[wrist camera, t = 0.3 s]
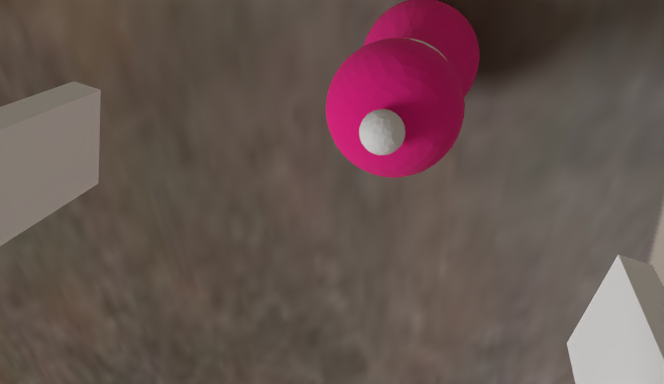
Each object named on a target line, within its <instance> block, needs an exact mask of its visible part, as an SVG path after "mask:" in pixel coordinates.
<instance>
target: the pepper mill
mask: <svg viewBox="0 0 664 384" xmlns="http://www.w3.org/2000/svg"><path fill="white" fill-rule="evenodd" d="M479 60H480V53H479V44H478V40H477V37H476V34H475V32H474V30H473V28H472V26H471V24H470V23H469V22H468V20H467V19H466V18H465V16H463V15H462V14H461V13H460V12H459V11H458V10H457V9H455V8H453V7H452V6H450V5H448V4H446V3H444V2H441V1H437V0H408V1H405V2H402V3H399V4H397V5H395V6H394V7H392V8H390V9H389V10H388V11H386V12H385V13H384V14H383V15H382V16H381V17H380V18H379V19H378V20H377V21H376V22H375V24H374V25H373V27H372V29H371V31H370V32H369V34H368V36H367V38H366V41H365V43H364V46H363V47H361V48H360V49H358V50H357V51H356V52H354V53H353V54H352V55H350V56H349V57H348V58H347V59H346V60H345V61H344V62H343V64H342V65H341V66H340V68H339V69H338V71H337V72H336V74H335V75H334V77H333V80H332V82H331V84H330V87H329V91H328V95H327V102H326V118H327V124H328V127H329V130H330V133H331V135H332V138H333V140H334V142H335V144H336V146H337V147H338V148H339V150H340V151H341V153H342V154H343V155H344V156H345V157H346V158H347V159H348V160H349V161H350V162H352V163H353V164H354V165H356V166H357V167H359V168H361V169H363V170H365V171H367V172H369V173H371V174H374V175H378V176H383V177H403V176H409V175H413V174H416V173H419V172H422V171H424V170H426V169H428V168H429V167H431V166H433V165H434V164H436V163H437V162H438V161H439V160H440V159H441V158H443V157H444V156H445V154H446V153H447V152H448V151H449V150H450V149H451V148H452V146H453V144H454V142H455V141H456V139H457V137H458V135H459V132H460V129H461V126H462V122H463V118H464V106H465V103H464V97H465V95H466V94H467V92H468V91H469V90H470V88H471V86H472V84H473V82H474V80H475V77H476V74H477V71H478V67H479Z"/></svg>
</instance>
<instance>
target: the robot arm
mask: <svg viewBox="0 0 664 384" xmlns="http://www.w3.org/2000/svg"><path fill="white" fill-rule="evenodd" d="M99 131H100V90H99V89H96V88H93V87H90V86H87V85H84V84H80V83H77V82H74V81H73V82H71V83H68V84H65V85H62V86H59V87H56V88H53V89H51V90H48V91H45V92H42V93H39V94H36V95H34V96H31V97H28V98H25V99H22V100H19V101H16V102H14V103H11V104H8V105H5V106H2V107H0V246H1V245H3V244H4V243H6V242H7V241H9V240H10V239H12V238H14V237H15V236H17V235H18V234H20V233H21V232H23V231H25V230H26V229H28V228H29V227H31V226H32V225H34V224H35V223H37V222H39V221H40V220H42V219H43V218H45V217H46V216H48V215H50V214H51V213H53V212H54V211H56V210H57V209H59V208H61V207H62V206H64V205H65V204H67V203H68V202H70V201H71V200H73V199H75V198H76V197H78V196H79V195H81V194H82V193H84V192H86V191H87V190H89V189H90V188H92V187H93V186H95V185H97V184H98V173H99ZM567 346H568V351H569V355H570V360H571V365H572V369H573V374H574V379H575V384H664V286H663V284H662V282H661V281H660V279H659V277H658V275H657V273H656V271H655V269H654V267H653V265H650V264H646V263H643V262H640V261H637V260H634V259H631V258H628V257H624V256H621V255H618V256H617V258H616V259H615V261H614V263H613V265H612V266H611V268H610V270H609V272H608V273H607V275H606V277H605V278H604V280H603V282H602V284H601V285H600V287H599V289H598V291H597V292H596V294H595V296H594V297H593V299H592V301H591V303H590V304H589V306H588V308H587V309H586V311H585V313H584V315H583V316H582V318H581V320H580V322H579V323H578V325H577V327H576V328H575V330H574V332H573V334H572V335H571V337H570V339H569V341H568V342H567Z"/></svg>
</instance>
